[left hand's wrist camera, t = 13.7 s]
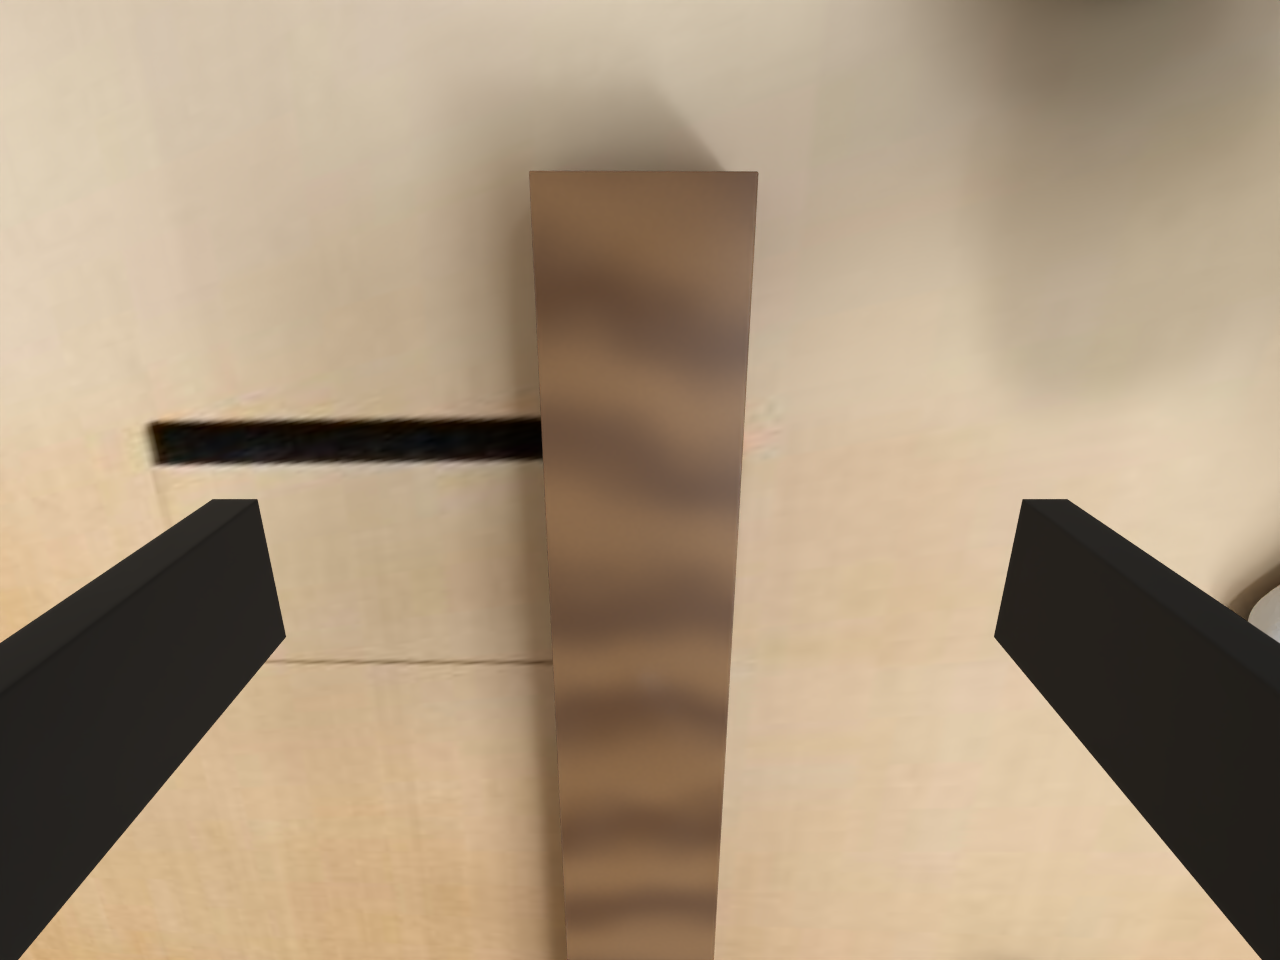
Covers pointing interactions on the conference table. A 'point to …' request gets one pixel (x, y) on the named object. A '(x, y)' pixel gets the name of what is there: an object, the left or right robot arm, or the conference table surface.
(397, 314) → the conference table surface
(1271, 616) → the projector
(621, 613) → the slab
